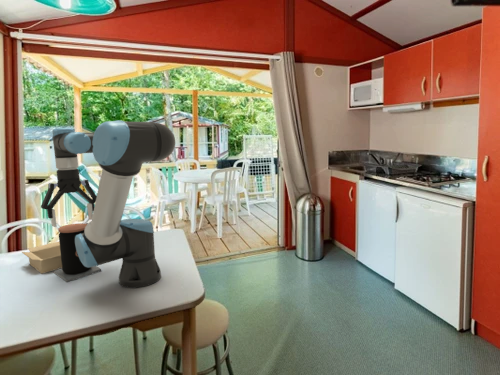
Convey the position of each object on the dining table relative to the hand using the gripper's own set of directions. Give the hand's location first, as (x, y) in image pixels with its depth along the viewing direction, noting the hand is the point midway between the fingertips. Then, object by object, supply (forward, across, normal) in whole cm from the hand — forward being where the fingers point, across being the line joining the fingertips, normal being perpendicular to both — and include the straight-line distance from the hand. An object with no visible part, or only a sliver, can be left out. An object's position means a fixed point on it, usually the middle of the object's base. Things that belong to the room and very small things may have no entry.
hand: (73, 222), depth 126 cm
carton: (+20, 0, -19) cm, 28 cm away
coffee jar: (+20, 0, -1) cm, 20 cm away
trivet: (+21, 0, -1) cm, 21 cm away
